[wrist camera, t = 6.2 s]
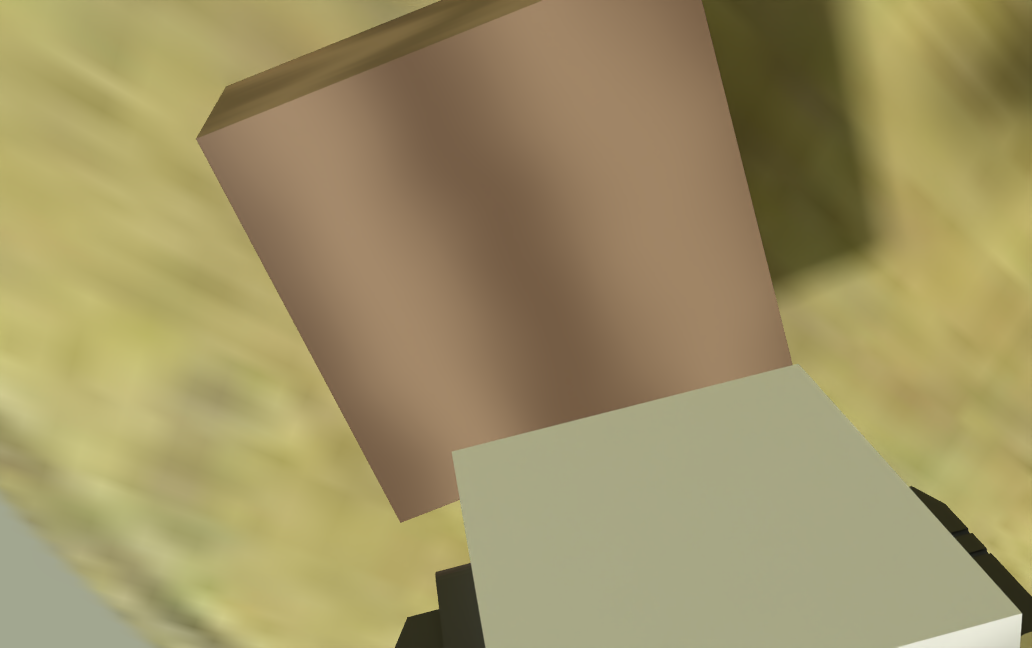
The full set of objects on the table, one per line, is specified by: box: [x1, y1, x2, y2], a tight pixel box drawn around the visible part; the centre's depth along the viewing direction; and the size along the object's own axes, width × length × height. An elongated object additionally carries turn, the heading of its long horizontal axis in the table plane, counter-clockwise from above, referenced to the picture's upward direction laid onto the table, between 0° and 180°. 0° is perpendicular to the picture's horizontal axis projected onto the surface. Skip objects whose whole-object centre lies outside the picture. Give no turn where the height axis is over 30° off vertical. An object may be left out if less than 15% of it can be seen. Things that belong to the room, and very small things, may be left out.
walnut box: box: [196, 0, 792, 523], centre depth 27 cm, size 12×12×6 cm
